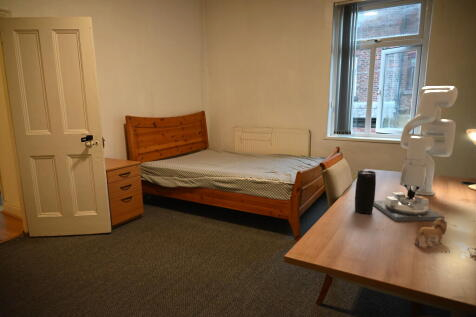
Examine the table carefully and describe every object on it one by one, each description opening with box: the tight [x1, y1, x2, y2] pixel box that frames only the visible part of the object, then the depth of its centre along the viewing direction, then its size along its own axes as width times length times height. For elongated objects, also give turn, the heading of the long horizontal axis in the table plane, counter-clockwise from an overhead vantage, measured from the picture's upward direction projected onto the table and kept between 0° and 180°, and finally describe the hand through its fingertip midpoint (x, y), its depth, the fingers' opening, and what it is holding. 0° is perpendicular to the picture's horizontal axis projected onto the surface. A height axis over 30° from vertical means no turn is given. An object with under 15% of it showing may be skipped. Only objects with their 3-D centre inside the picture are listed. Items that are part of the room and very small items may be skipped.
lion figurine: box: [414, 218, 448, 248], centre depth 113 cm, size 15×5×9 cm, turn 117°
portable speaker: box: [354, 170, 377, 215], centre depth 144 cm, size 9×9×20 cm
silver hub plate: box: [384, 191, 430, 215], centre depth 145 cm, size 18×18×5 cm
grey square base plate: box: [373, 200, 445, 222], centre depth 146 cm, size 22×22×2 cm
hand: (410, 198), depth 150 cm, fingers closed
